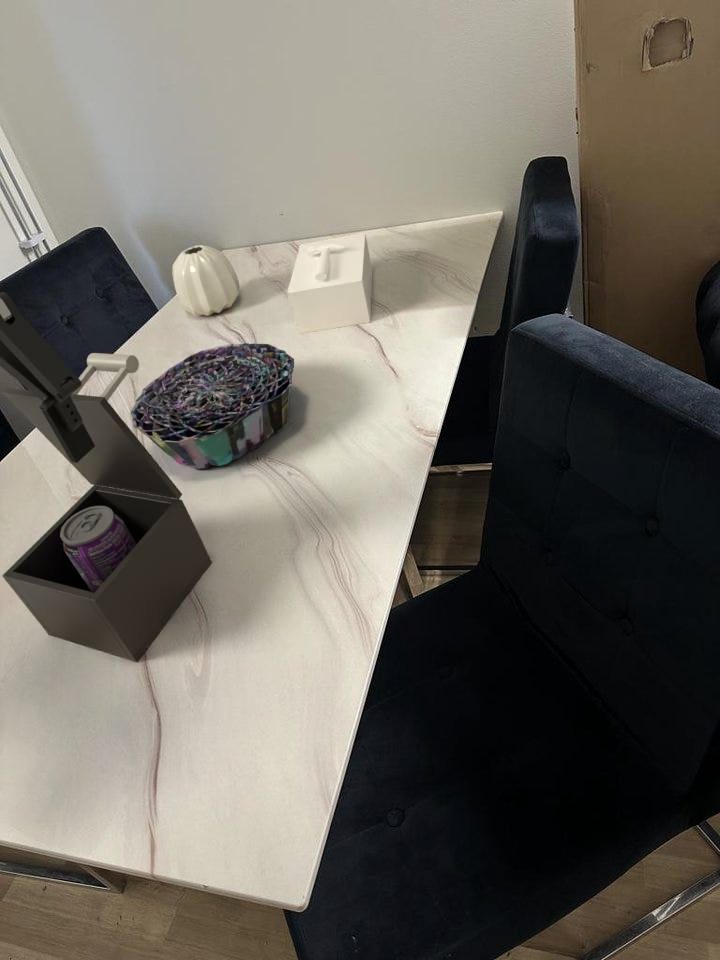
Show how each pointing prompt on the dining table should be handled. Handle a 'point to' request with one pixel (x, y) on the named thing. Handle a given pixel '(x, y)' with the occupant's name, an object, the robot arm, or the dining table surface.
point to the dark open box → (115, 576)
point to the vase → (204, 280)
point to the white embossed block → (331, 284)
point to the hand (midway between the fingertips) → (35, 447)
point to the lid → (104, 433)
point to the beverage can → (96, 543)
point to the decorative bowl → (217, 403)
